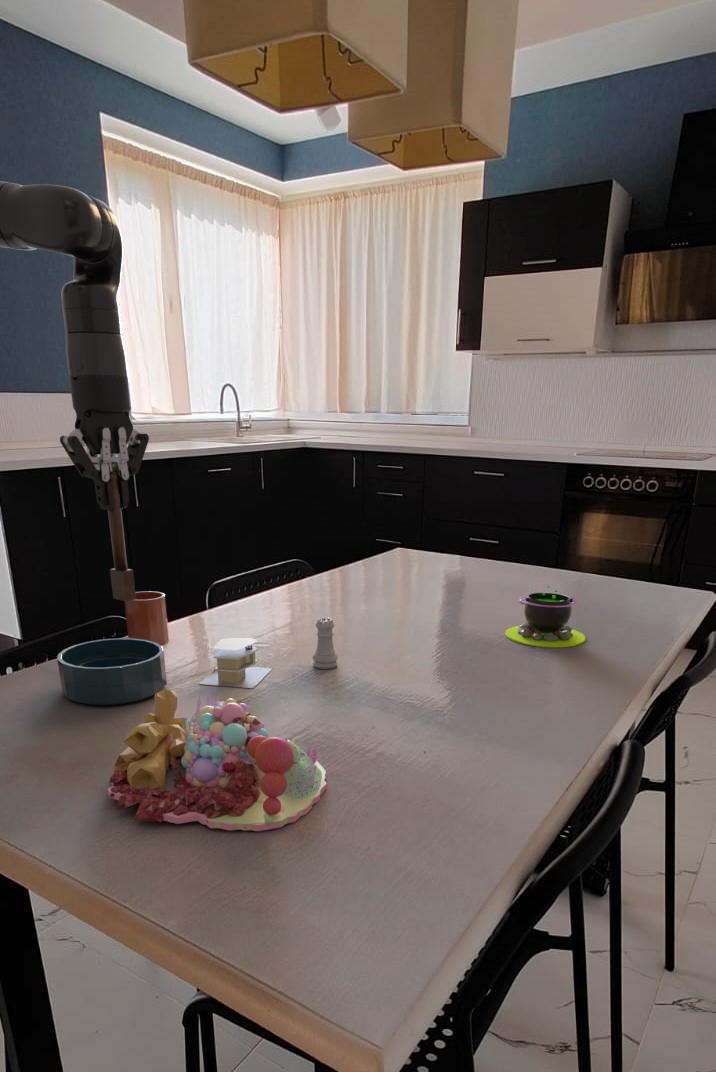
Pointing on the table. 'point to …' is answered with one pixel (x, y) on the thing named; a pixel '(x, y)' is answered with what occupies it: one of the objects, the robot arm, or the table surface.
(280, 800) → the pastel sphere sculpture
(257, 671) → the stacked layers on plate
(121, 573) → the stirring stick
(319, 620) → the rook chess piece
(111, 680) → the bowl
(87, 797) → the table surface
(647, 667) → the table surface
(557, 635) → the toy cauldron
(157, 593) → the crock
